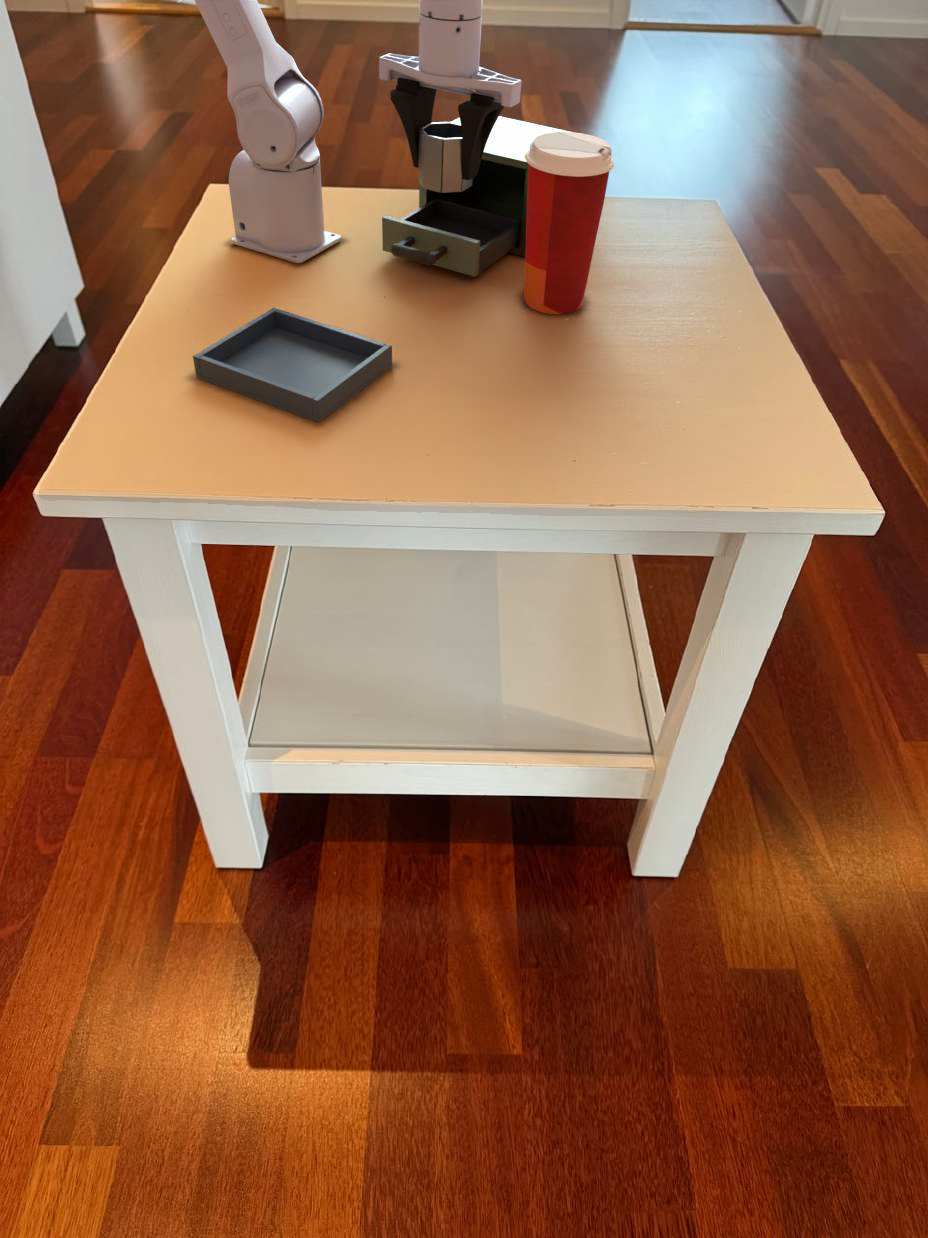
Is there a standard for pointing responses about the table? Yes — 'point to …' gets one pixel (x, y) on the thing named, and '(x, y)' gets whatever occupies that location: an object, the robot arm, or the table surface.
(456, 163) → the faceted metal cup
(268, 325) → the tray
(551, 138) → the coffee cup
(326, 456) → the table surface
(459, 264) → the drawer
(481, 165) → the cabinet
